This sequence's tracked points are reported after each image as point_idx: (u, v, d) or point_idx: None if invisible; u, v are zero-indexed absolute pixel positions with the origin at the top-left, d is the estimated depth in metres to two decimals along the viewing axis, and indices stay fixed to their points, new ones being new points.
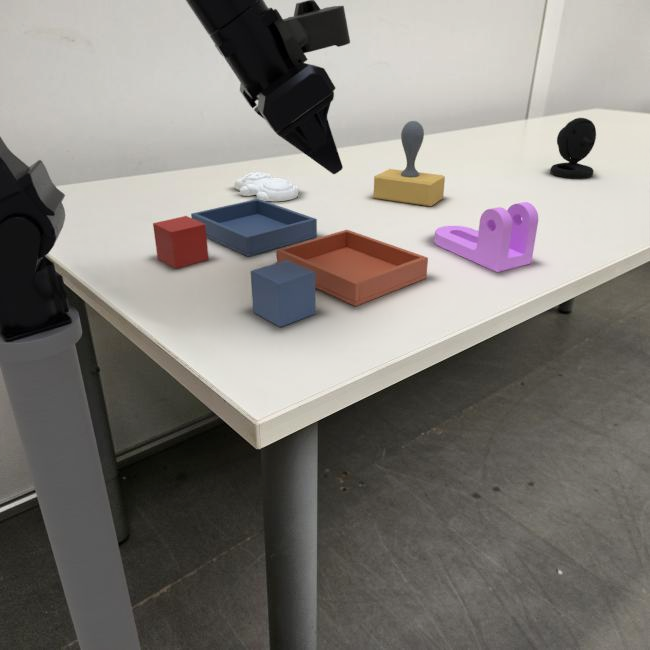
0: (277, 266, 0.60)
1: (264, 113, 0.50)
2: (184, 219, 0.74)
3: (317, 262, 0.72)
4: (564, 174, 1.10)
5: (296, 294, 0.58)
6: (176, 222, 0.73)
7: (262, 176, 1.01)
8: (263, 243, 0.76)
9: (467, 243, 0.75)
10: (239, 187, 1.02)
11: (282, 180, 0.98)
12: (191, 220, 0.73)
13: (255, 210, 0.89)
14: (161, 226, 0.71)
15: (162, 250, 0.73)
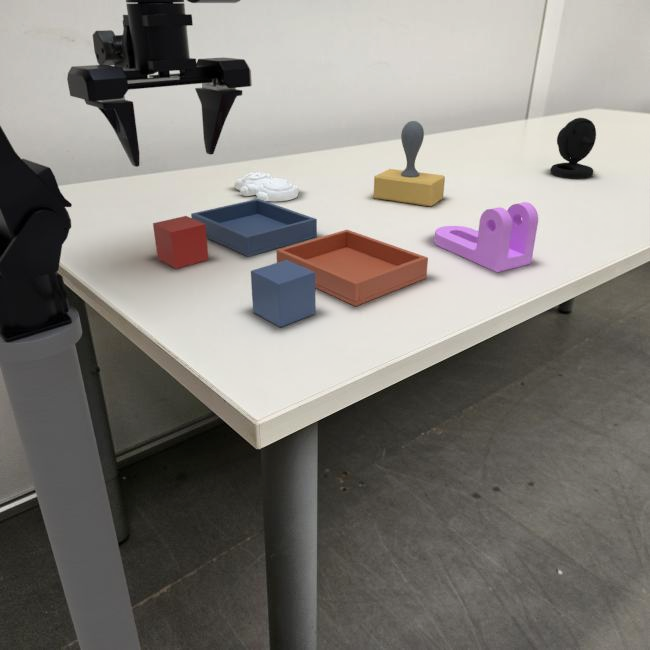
0: (277, 266, 0.60)
1: (249, 69, 0.68)
2: (184, 219, 0.74)
3: (317, 262, 0.72)
4: (564, 174, 1.10)
5: (296, 294, 0.58)
6: (176, 222, 0.73)
7: (262, 176, 1.01)
8: (263, 243, 0.76)
9: (467, 243, 0.75)
10: (239, 187, 1.02)
11: (282, 180, 0.98)
12: (191, 220, 0.73)
13: (255, 210, 0.89)
14: (161, 226, 0.71)
15: (162, 250, 0.73)
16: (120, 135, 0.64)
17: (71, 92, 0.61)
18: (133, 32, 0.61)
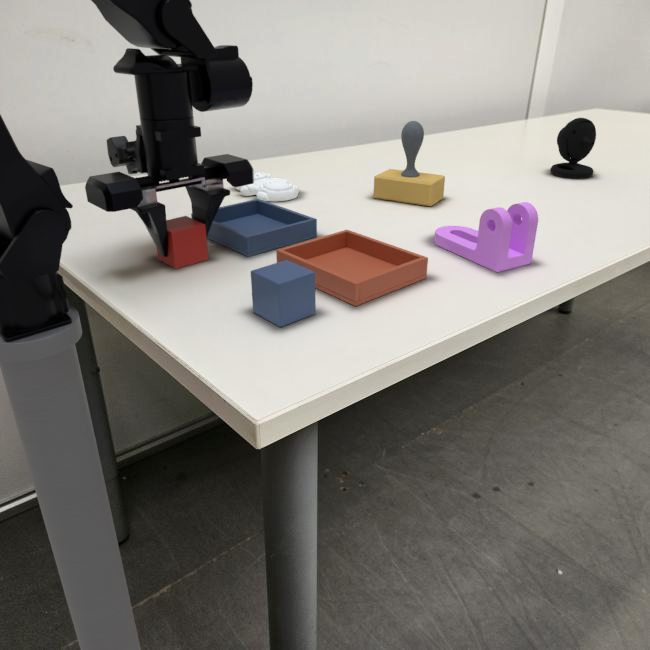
0: (277, 266, 0.60)
1: (252, 168, 0.73)
2: (184, 219, 0.74)
3: (317, 262, 0.72)
4: (564, 174, 1.10)
5: (296, 294, 0.58)
6: (176, 223, 0.72)
7: (262, 176, 1.01)
8: (263, 243, 0.76)
9: (467, 243, 0.75)
10: (239, 187, 1.02)
11: (282, 180, 0.98)
12: (191, 220, 0.73)
13: (255, 210, 0.89)
14: None
15: None
16: (151, 230, 0.70)
17: (88, 199, 0.66)
18: (147, 144, 0.66)
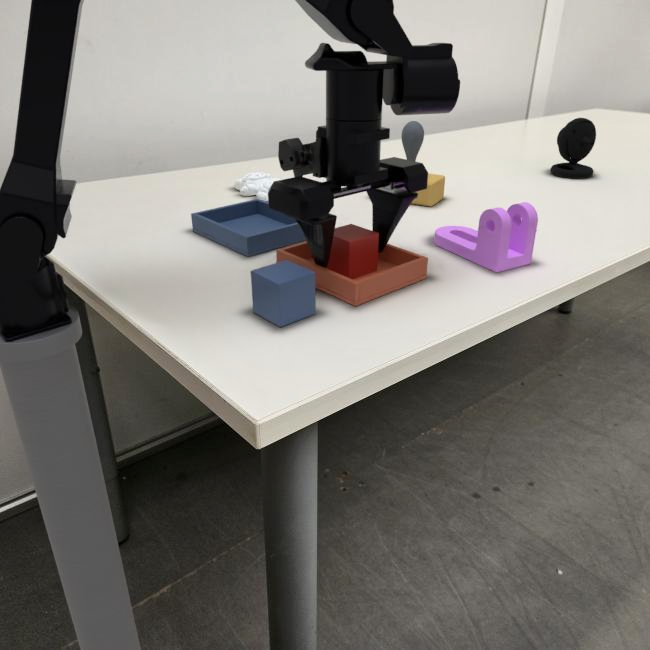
0: (277, 266, 0.60)
1: (427, 173, 0.68)
2: (352, 227, 0.69)
3: None
4: (564, 174, 1.10)
5: (296, 294, 0.58)
6: (346, 231, 0.68)
7: (262, 176, 1.01)
8: (263, 243, 0.76)
9: (467, 243, 0.75)
10: (239, 187, 1.02)
11: None
12: (361, 228, 0.69)
13: (255, 210, 0.89)
14: None
15: (331, 260, 0.68)
16: (313, 243, 0.65)
17: (271, 205, 0.62)
18: (334, 146, 0.62)
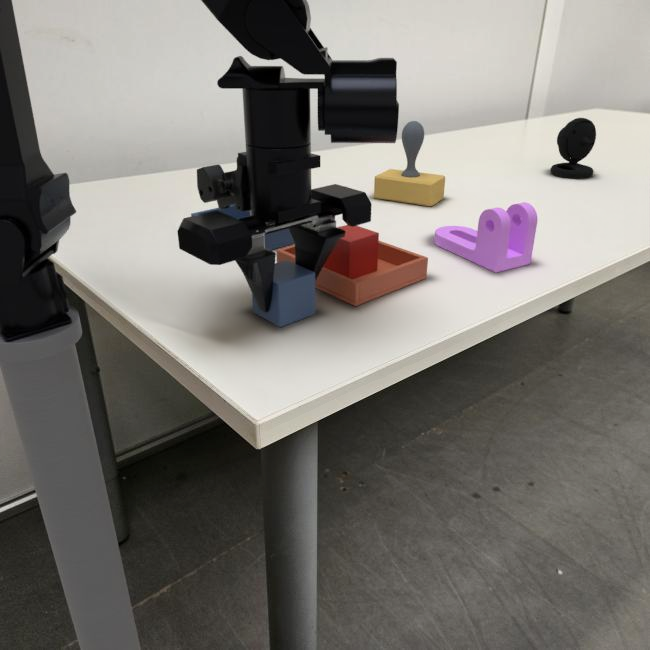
0: (277, 266, 0.60)
1: None
2: (352, 227, 0.69)
3: None
4: (564, 174, 1.10)
5: (296, 294, 0.58)
6: (346, 231, 0.68)
7: None
8: None
9: (466, 243, 0.75)
10: None
11: None
12: (361, 228, 0.69)
13: None
14: None
15: (331, 260, 0.68)
16: (252, 282, 0.57)
17: (181, 245, 0.53)
18: (254, 177, 0.53)
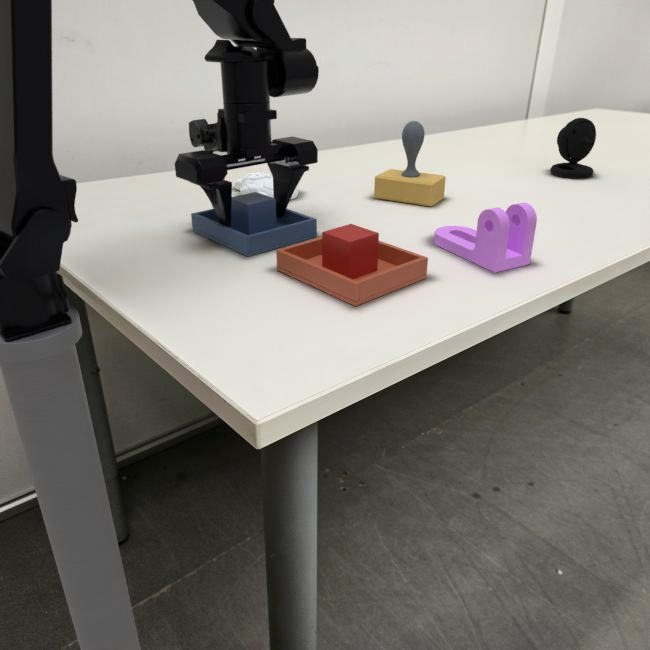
0: (248, 195, 0.82)
1: (317, 149, 0.81)
2: (352, 227, 0.69)
3: (317, 262, 0.72)
4: (564, 174, 1.10)
5: (261, 214, 0.79)
6: (346, 231, 0.68)
7: (262, 176, 1.01)
8: (263, 243, 0.76)
9: (466, 243, 0.75)
10: (239, 187, 1.02)
11: None
12: (361, 228, 0.69)
13: None
14: (333, 235, 0.67)
15: (331, 260, 0.68)
16: (216, 206, 0.77)
17: (177, 174, 0.74)
18: (229, 125, 0.74)
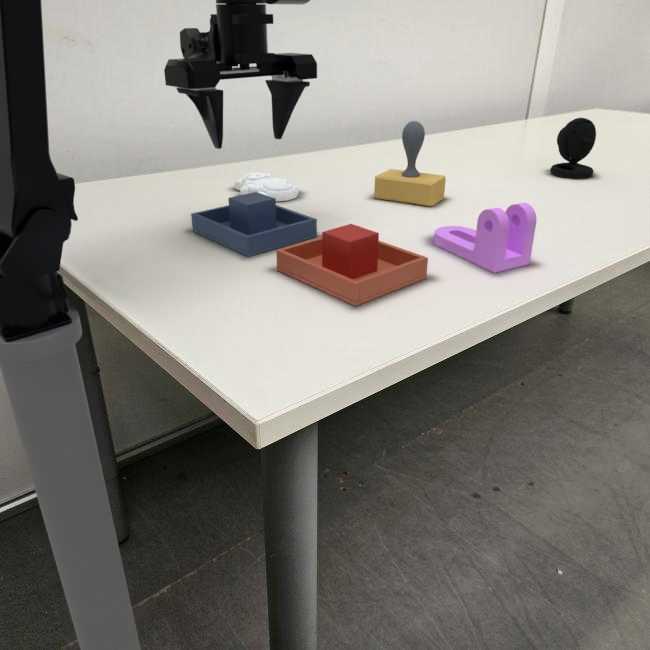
0: (248, 195, 0.82)
1: (316, 63, 0.76)
2: (352, 227, 0.69)
3: (317, 262, 0.72)
4: (564, 174, 1.10)
5: (261, 214, 0.79)
6: (346, 231, 0.68)
7: (262, 176, 1.01)
8: (263, 243, 0.76)
9: (466, 243, 0.75)
10: (239, 187, 1.02)
11: (282, 180, 0.98)
12: (361, 228, 0.69)
13: None
14: (333, 235, 0.67)
15: (331, 260, 0.68)
16: (207, 120, 0.72)
17: (167, 82, 0.70)
18: (223, 29, 0.69)
